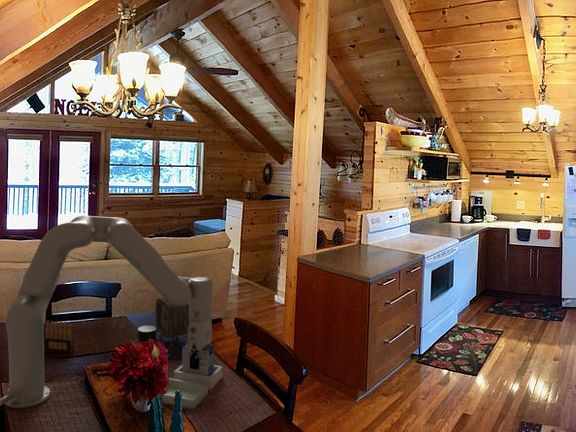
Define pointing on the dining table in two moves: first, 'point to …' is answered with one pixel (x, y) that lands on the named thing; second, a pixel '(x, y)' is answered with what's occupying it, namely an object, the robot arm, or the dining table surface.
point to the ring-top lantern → (171, 319)
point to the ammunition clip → (58, 338)
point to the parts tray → (186, 393)
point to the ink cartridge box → (204, 361)
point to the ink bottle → (147, 333)
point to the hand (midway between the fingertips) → (198, 364)
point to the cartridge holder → (200, 377)
